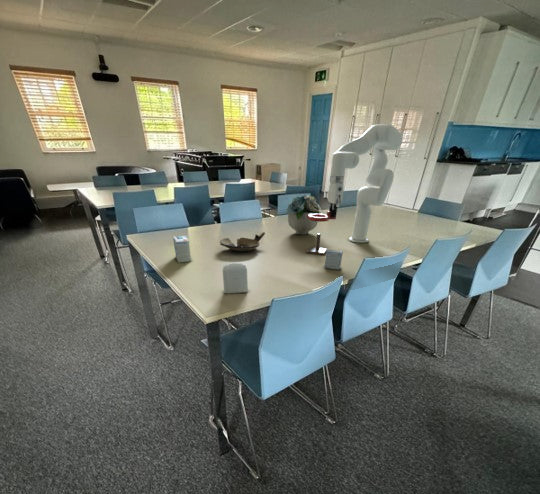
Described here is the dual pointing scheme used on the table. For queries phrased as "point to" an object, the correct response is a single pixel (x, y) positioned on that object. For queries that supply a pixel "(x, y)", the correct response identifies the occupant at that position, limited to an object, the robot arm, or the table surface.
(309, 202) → the flower arrangement
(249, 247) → the oil lamp
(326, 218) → the ring
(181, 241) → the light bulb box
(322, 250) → the post
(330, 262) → the medicine box
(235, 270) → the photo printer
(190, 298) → the table surface
